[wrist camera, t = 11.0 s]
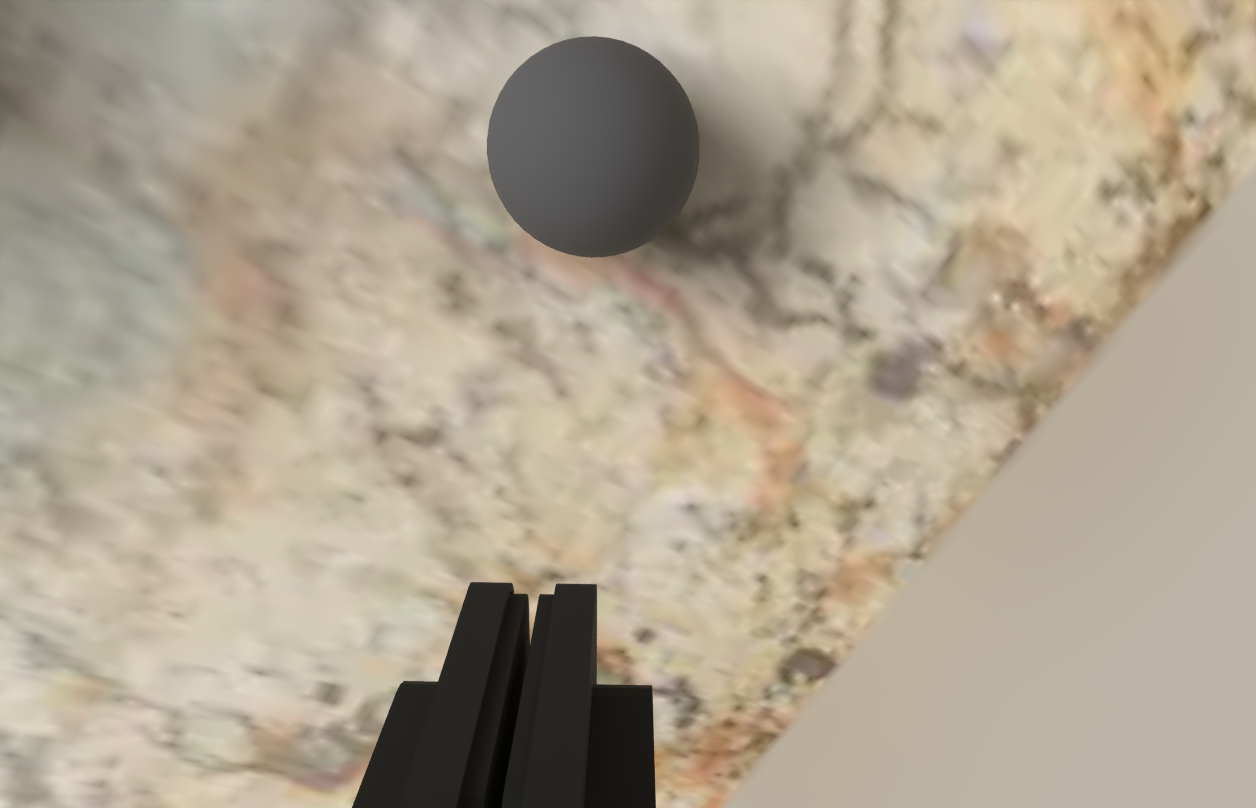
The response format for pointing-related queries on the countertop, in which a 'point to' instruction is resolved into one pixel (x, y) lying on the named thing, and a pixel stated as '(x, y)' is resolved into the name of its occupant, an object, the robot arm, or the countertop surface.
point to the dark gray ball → (593, 146)
